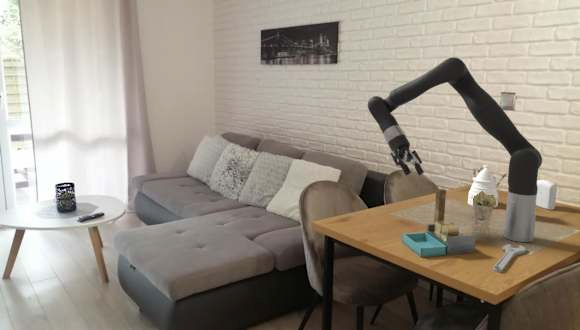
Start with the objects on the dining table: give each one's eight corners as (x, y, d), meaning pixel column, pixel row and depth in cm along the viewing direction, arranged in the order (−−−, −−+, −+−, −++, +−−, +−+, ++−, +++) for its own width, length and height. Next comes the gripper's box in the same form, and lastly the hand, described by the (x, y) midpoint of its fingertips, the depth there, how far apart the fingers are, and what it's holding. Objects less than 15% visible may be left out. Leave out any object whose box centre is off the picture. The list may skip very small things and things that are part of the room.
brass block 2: (451, 235, 153) (452, 224, 152) (458, 239, 149) (459, 228, 148) (441, 236, 152) (441, 225, 152) (447, 240, 148) (448, 228, 148)
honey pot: (470, 199, 216) (473, 162, 212) (499, 202, 209) (502, 165, 206) (465, 205, 205) (468, 167, 201) (496, 209, 198) (499, 170, 195)
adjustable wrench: (501, 275, 133) (501, 269, 132) (479, 268, 137) (479, 263, 137) (527, 251, 151) (527, 246, 150) (507, 246, 155) (507, 242, 155)
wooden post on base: (435, 229, 171) (438, 186, 168) (448, 237, 163) (451, 192, 159) (428, 230, 171) (431, 187, 167) (440, 238, 162) (444, 193, 159)
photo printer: (530, 204, 207) (533, 178, 205) (538, 203, 208) (541, 177, 206) (547, 210, 197) (551, 183, 195) (556, 209, 198) (559, 182, 196)
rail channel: (450, 238, 162) (452, 222, 161) (474, 252, 148) (475, 235, 147) (425, 240, 160) (426, 224, 159) (447, 255, 146) (448, 237, 145)
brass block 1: (444, 231, 157) (445, 220, 157) (450, 235, 153) (451, 223, 153) (434, 231, 157) (435, 221, 156) (440, 235, 153) (441, 224, 152)
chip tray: (425, 240, 160) (425, 232, 159) (446, 255, 146) (446, 246, 146) (401, 241, 158) (402, 233, 157) (421, 257, 144) (421, 248, 144)
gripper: (391, 132, 169) (411, 169, 162) (413, 134, 178) (433, 168, 171) (378, 144, 173) (397, 179, 167) (400, 145, 183) (418, 178, 176)
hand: (415, 174), depth 169 cm, fingers open, 8 cm apart
